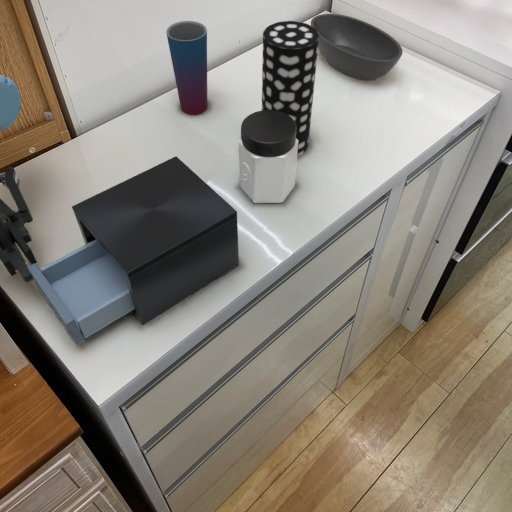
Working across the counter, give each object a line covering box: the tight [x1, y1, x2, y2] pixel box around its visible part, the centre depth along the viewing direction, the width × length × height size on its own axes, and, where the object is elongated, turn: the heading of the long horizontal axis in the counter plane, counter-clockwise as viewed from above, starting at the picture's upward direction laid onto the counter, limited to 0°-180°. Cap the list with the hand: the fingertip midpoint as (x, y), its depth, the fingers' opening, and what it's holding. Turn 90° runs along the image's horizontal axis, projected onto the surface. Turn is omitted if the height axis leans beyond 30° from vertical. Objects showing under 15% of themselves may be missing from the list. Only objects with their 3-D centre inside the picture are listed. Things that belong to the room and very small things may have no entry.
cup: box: [165, 20, 208, 116], centre depth 95 cm, size 7×7×15 cm
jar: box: [238, 110, 298, 204], centre depth 82 cm, size 9×8×12 cm
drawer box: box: [71, 155, 240, 326], centre depth 72 cm, size 16×14×11 cm
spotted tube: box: [261, 20, 319, 157], centre depth 86 cm, size 8×8×20 cm
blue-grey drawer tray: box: [0, 214, 135, 346], centre depth 69 cm, size 16×18×10 cm
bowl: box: [310, 13, 404, 82], centre depth 108 cm, size 12×22×6 cm, turn 39°
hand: (21, 262), depth 67 cm, fingers closed on blue-grey drawer tray, 2 cm apart
